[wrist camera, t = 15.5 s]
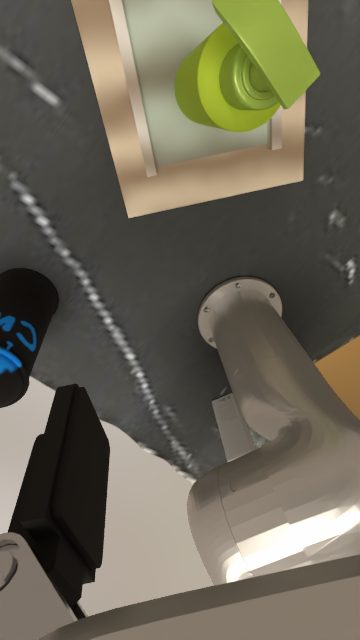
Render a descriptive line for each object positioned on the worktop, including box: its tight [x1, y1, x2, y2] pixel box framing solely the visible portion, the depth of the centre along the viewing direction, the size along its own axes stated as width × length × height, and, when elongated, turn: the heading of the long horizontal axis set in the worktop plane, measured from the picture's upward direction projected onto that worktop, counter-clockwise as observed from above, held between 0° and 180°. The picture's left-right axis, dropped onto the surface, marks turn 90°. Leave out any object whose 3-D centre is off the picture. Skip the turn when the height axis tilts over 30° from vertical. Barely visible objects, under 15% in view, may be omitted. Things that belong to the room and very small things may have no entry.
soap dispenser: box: [175, 0, 320, 132], centre depth 23 cm, size 6×7×20 cm
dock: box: [71, 0, 308, 218], centre depth 32 cm, size 20×20×4 cm
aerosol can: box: [0, 269, 59, 408], centre depth 36 cm, size 8×8×20 cm
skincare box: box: [212, 393, 256, 462], centre depth 55 cm, size 6×4×12 cm
